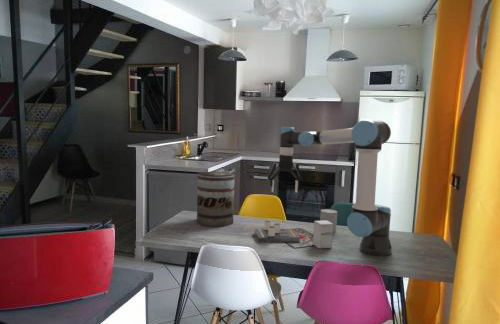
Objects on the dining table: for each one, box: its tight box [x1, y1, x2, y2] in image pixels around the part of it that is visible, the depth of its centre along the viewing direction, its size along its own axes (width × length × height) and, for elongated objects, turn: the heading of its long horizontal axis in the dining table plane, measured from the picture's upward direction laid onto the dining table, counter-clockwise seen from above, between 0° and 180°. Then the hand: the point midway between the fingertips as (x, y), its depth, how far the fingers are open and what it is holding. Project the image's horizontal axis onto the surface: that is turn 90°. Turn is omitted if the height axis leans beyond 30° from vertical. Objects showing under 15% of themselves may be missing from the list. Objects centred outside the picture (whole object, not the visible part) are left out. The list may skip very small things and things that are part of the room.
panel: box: [254, 228, 301, 243], centre depth 199 cm, size 15×22×3 cm
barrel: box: [196, 171, 236, 228], centre depth 225 cm, size 22×22×30 cm
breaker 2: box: [268, 225, 275, 236], centre depth 192 cm, size 3×3×5 cm
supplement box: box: [312, 220, 333, 249], centre depth 187 cm, size 7×7×13 cm
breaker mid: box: [273, 222, 281, 233], centre depth 198 cm, size 3×3×5 cm
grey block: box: [319, 208, 338, 235], centre depth 213 cm, size 10×10×12 cm
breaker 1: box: [263, 220, 272, 230], centre depth 203 cm, size 3×3×5 cm
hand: (284, 192), depth 207 cm, fingers open, 13 cm apart
